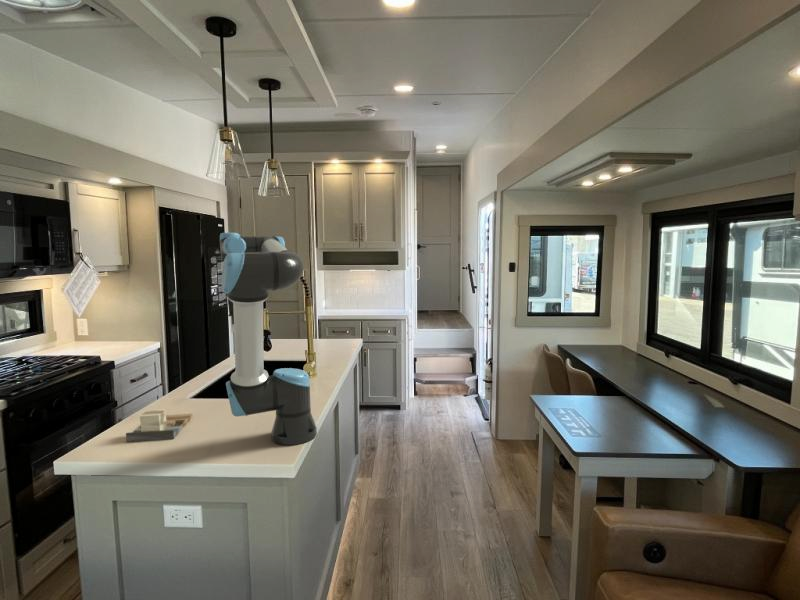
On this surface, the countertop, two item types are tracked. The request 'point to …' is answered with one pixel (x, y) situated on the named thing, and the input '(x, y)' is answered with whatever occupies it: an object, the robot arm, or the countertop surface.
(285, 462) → the countertop surface
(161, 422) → the ash block
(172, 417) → the trap board
